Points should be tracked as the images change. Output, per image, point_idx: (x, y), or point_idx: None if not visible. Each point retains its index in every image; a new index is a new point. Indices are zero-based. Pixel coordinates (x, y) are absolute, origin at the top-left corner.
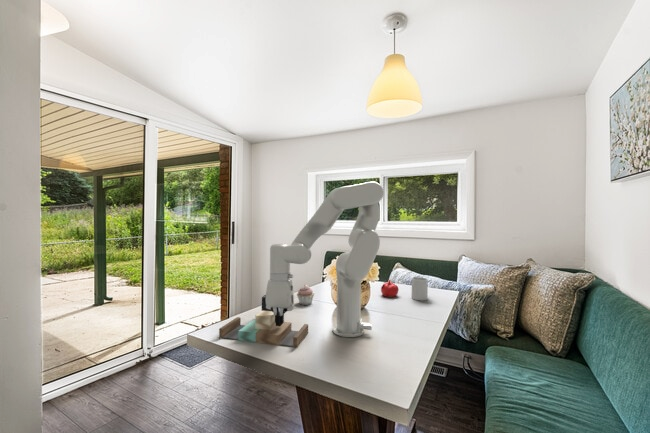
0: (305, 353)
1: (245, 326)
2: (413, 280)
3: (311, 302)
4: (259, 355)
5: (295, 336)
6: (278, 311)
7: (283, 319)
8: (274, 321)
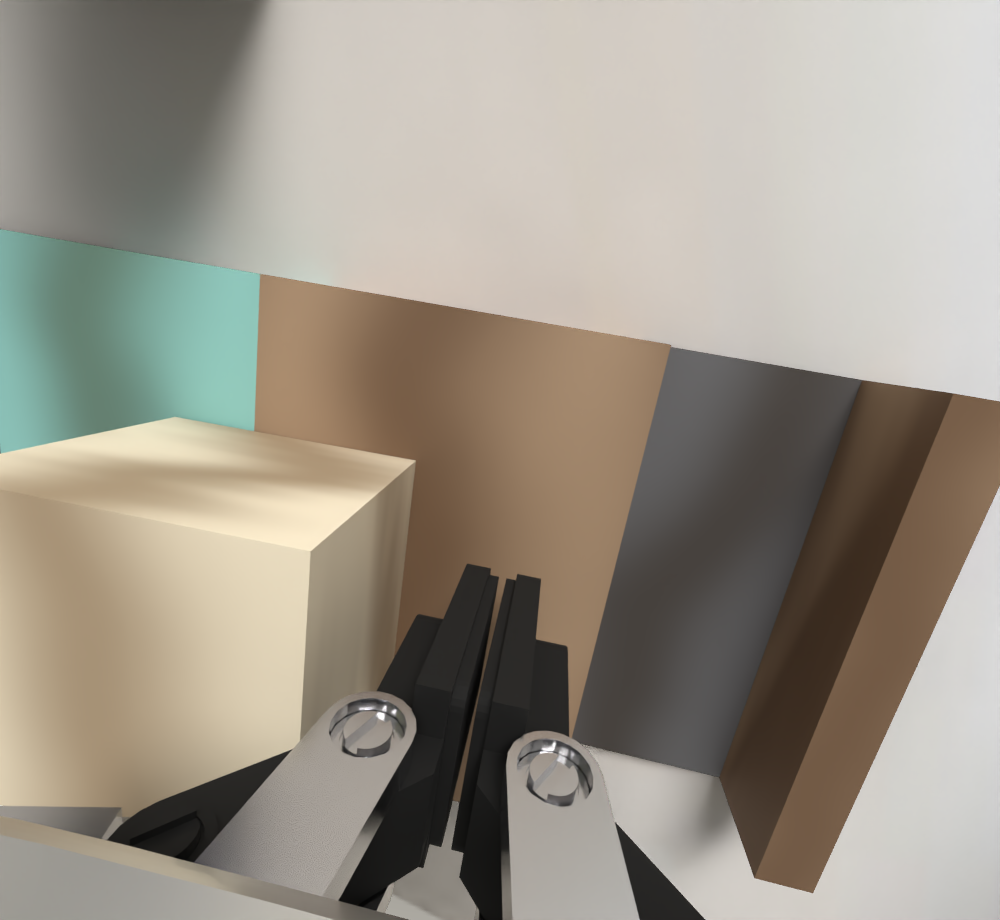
0: (853, 886)
1: None
2: None
3: None
4: (431, 888)
5: (785, 865)
6: (396, 800)
7: (564, 690)
8: (379, 568)
